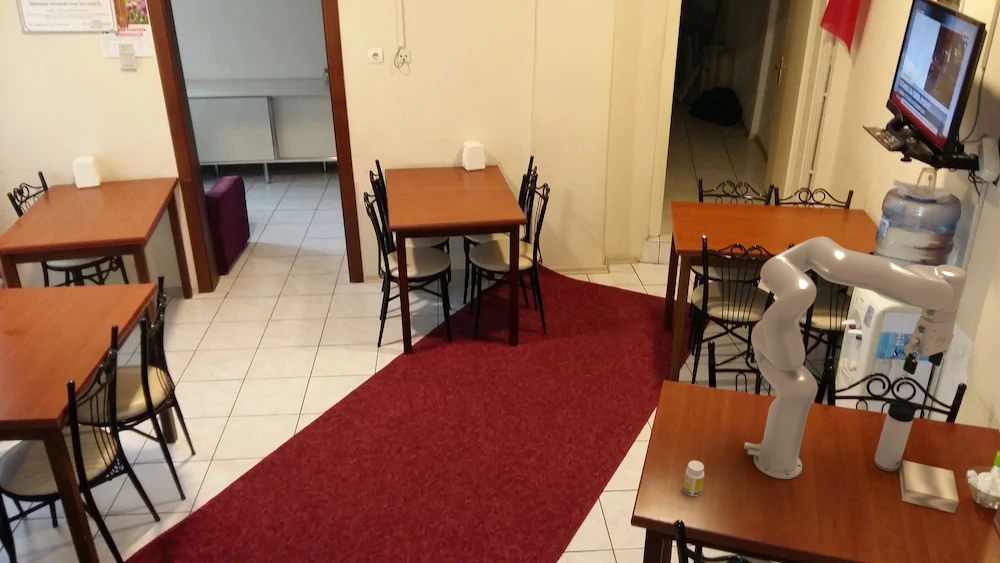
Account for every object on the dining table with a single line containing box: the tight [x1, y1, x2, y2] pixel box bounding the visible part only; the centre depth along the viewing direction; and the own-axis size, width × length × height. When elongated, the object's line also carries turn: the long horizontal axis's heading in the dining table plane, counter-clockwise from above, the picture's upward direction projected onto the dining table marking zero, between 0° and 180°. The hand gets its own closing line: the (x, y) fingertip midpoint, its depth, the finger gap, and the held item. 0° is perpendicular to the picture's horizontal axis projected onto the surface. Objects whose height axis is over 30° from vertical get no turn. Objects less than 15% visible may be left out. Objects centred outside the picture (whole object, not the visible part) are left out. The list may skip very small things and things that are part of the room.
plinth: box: [898, 459, 960, 514], centre depth 199 cm, size 12×12×4 cm
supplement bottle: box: [683, 460, 705, 497], centre depth 199 cm, size 5×5×8 cm
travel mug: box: [873, 399, 919, 472], centre depth 205 cm, size 6×7×20 cm
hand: (921, 367), depth 204 cm, fingers open, 9 cm apart
